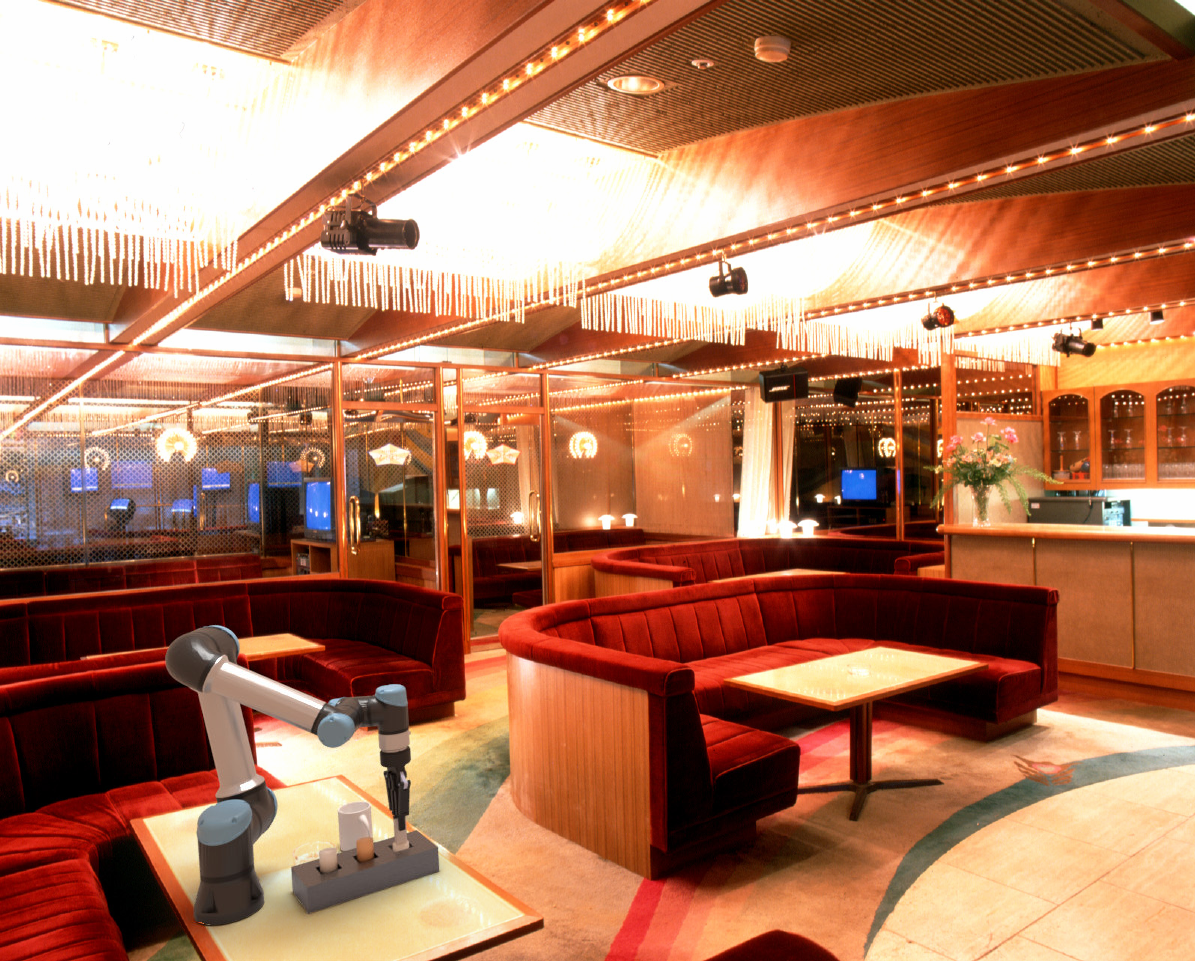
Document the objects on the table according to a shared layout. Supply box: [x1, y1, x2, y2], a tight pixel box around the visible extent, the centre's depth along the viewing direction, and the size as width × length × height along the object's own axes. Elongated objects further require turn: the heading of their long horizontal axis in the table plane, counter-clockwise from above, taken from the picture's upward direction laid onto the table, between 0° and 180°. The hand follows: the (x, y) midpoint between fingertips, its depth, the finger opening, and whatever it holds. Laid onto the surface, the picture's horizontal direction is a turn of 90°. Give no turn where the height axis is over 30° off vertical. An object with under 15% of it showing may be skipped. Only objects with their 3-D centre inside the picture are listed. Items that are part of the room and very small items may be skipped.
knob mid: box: [356, 837, 374, 863], centre depth 208 cm, size 4×4×5 cm
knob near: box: [318, 847, 338, 875], centre depth 203 cm, size 4×4×5 cm
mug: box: [337, 800, 374, 852], centre depth 228 cm, size 9×12×11 cm
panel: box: [290, 830, 440, 915], centre depth 208 cm, size 32×14×6 cm, turn 124°
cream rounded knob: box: [393, 840, 409, 852], centre depth 213 cm, size 4×4×5 cm
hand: (401, 841), depth 213 cm, fingers closed
